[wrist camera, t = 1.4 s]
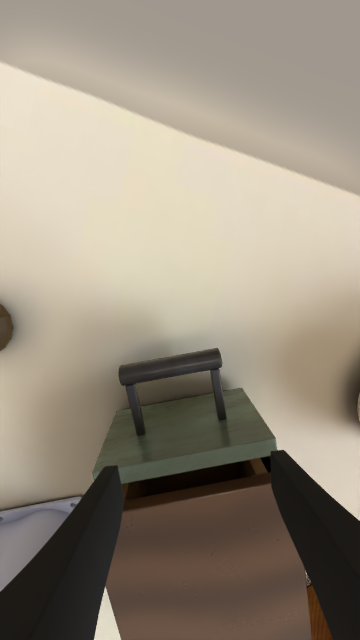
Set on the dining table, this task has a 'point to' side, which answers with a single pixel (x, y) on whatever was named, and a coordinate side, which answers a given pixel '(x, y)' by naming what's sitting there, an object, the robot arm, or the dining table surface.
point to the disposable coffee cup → (317, 617)
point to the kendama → (5, 327)
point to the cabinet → (208, 566)
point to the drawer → (184, 432)
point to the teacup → (358, 406)
